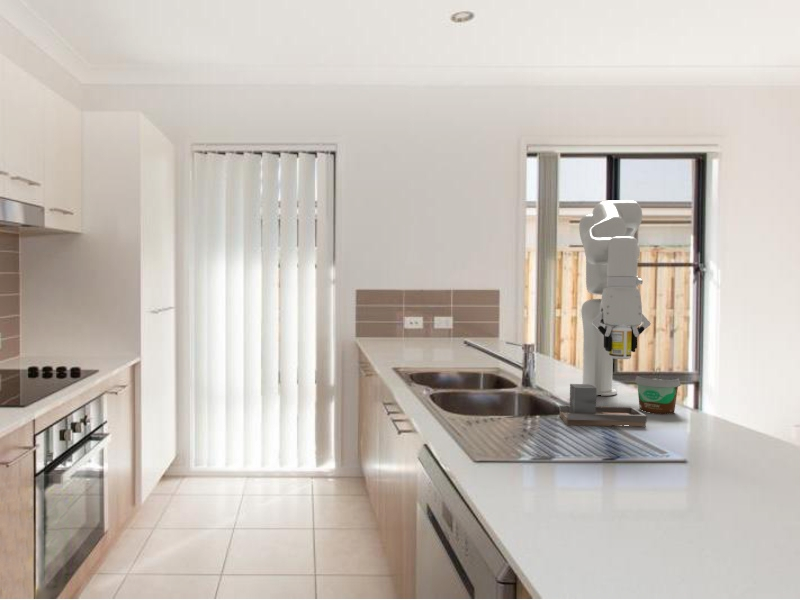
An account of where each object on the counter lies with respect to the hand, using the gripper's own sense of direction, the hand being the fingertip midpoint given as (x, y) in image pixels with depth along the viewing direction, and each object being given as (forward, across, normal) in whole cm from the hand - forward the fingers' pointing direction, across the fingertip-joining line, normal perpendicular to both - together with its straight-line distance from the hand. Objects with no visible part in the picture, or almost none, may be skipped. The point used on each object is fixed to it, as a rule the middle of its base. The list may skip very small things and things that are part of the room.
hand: (620, 350), depth 160 cm
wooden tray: (+19, +5, 0) cm, 20 cm away
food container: (+20, -14, -13) cm, 27 cm away
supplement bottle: (+2, 0, 0) cm, 2 cm away
